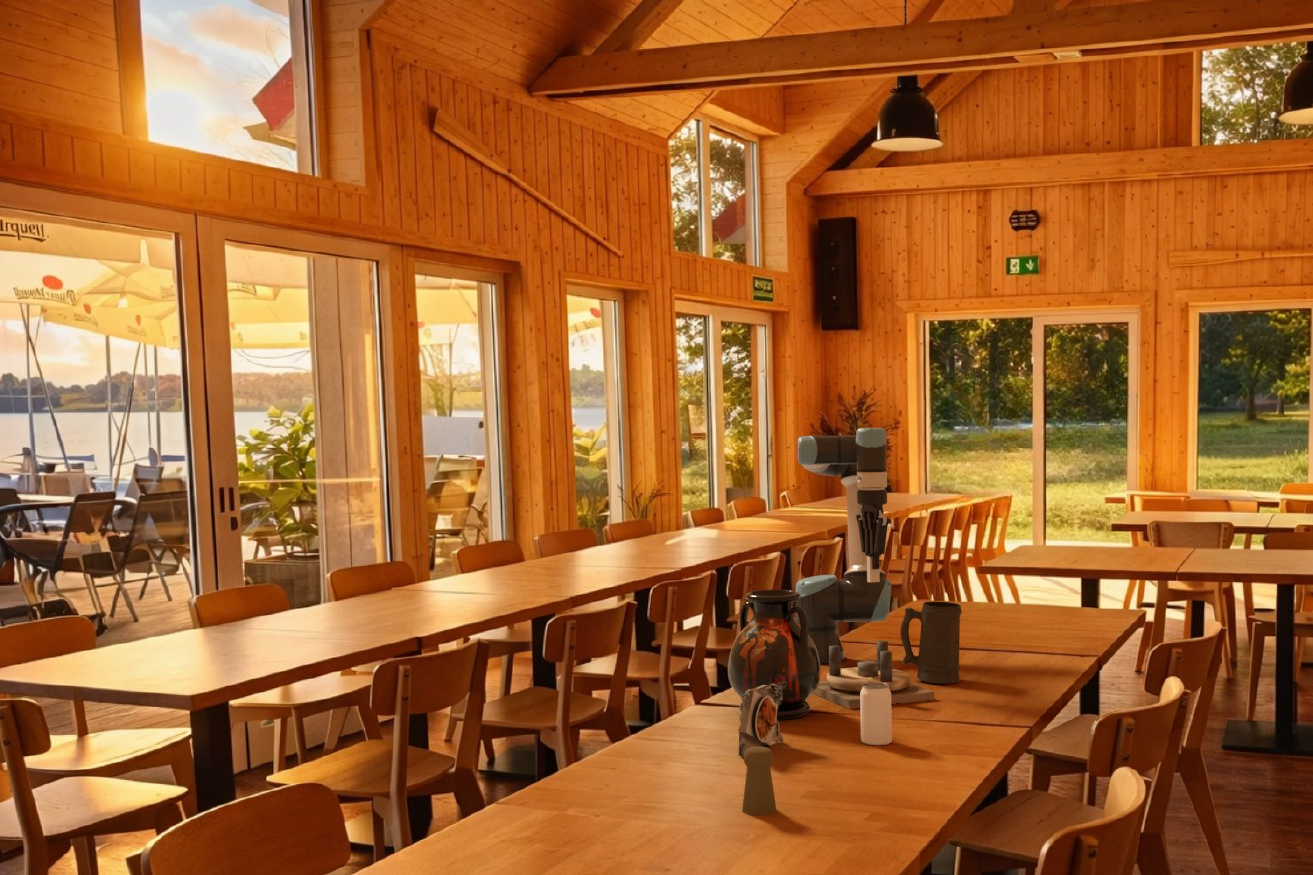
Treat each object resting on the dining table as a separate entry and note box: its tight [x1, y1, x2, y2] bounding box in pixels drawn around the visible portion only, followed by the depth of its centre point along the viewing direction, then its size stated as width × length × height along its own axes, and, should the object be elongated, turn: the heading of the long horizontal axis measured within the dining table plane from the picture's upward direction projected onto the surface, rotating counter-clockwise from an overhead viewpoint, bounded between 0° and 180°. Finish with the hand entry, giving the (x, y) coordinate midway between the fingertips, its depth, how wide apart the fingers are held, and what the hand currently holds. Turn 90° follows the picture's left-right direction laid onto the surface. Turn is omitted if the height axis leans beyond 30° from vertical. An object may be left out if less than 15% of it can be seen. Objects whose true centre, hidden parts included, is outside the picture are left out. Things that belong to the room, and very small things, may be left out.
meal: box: [738, 681, 788, 759], centre depth 268 cm, size 15×4×13 cm, turn 149°
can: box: [859, 683, 893, 747], centre depth 272 cm, size 6×6×12 cm
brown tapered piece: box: [741, 746, 777, 817], centre depth 227 cm, size 6×6×11 cm
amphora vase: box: [727, 589, 822, 721], centre depth 301 cm, size 22×22×28 cm
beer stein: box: [900, 601, 963, 685], centre depth 333 cm, size 15×11×20 cm
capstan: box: [826, 640, 911, 692], centre depth 318 cm, size 20×20×9 cm
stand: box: [812, 679, 935, 710], centre depth 318 cm, size 23×23×2 cm
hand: (873, 581), depth 329 cm, fingers closed
